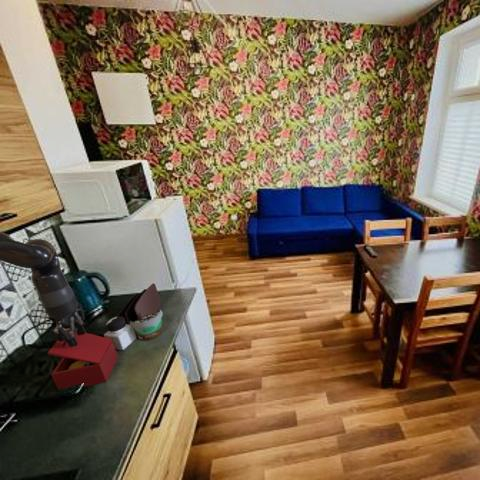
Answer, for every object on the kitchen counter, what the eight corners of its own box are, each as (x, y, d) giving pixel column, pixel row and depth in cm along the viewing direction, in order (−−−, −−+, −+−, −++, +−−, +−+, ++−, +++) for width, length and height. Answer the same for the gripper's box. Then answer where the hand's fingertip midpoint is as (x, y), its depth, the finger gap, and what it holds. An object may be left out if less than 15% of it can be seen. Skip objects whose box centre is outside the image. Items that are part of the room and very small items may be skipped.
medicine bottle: (137, 338, 115) (130, 315, 110) (123, 350, 108) (114, 327, 104) (123, 335, 116) (115, 313, 111) (108, 348, 109) (99, 324, 105)
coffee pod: (85, 377, 96) (82, 369, 94) (69, 380, 94) (65, 372, 93) (91, 366, 100) (88, 358, 98) (76, 369, 99) (72, 361, 97)
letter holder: (161, 304, 137) (155, 280, 131) (143, 331, 119) (135, 305, 113) (140, 305, 135) (133, 282, 130) (119, 333, 117) (109, 307, 112)
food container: (139, 347, 110) (133, 328, 106) (134, 339, 114) (128, 321, 110) (170, 332, 118) (166, 313, 115) (165, 325, 122) (160, 307, 118)
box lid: (47, 353, 85) (53, 342, 84) (66, 329, 95) (72, 319, 95) (98, 364, 92) (105, 354, 91) (111, 341, 102) (117, 331, 101)
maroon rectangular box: (59, 392, 91) (50, 374, 88) (76, 365, 101) (69, 349, 98) (106, 381, 95) (99, 364, 92) (118, 357, 105) (112, 341, 102)
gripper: (56, 289, 91) (75, 328, 97) (29, 315, 78) (53, 358, 85) (83, 285, 93) (99, 324, 99) (60, 310, 80) (81, 352, 87)
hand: (78, 339), depth 92 cm, fingers closed on box lid, 5 cm apart
